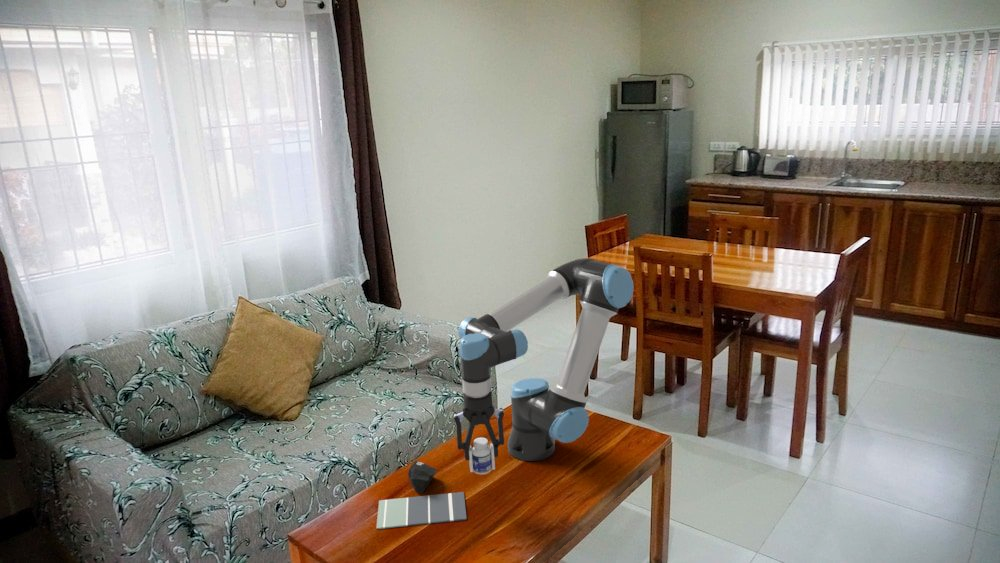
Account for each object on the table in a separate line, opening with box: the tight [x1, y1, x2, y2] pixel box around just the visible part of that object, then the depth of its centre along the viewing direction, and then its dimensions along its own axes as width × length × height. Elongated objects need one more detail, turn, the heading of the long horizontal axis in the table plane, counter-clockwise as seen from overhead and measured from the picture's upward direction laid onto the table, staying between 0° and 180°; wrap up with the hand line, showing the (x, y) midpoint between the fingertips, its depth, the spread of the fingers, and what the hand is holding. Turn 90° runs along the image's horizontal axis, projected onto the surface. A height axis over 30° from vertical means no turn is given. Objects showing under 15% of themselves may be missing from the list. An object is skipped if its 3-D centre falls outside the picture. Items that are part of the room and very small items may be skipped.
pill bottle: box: [471, 437, 492, 475], centre depth 174 cm, size 5×5×9 cm
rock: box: [407, 460, 437, 494], centre depth 188 cm, size 10×9×6 cm
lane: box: [375, 491, 467, 530], centre depth 177 cm, size 24×12×1 cm, turn 97°
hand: (482, 467), depth 175 cm, fingers closed on pill bottle, 5 cm apart
